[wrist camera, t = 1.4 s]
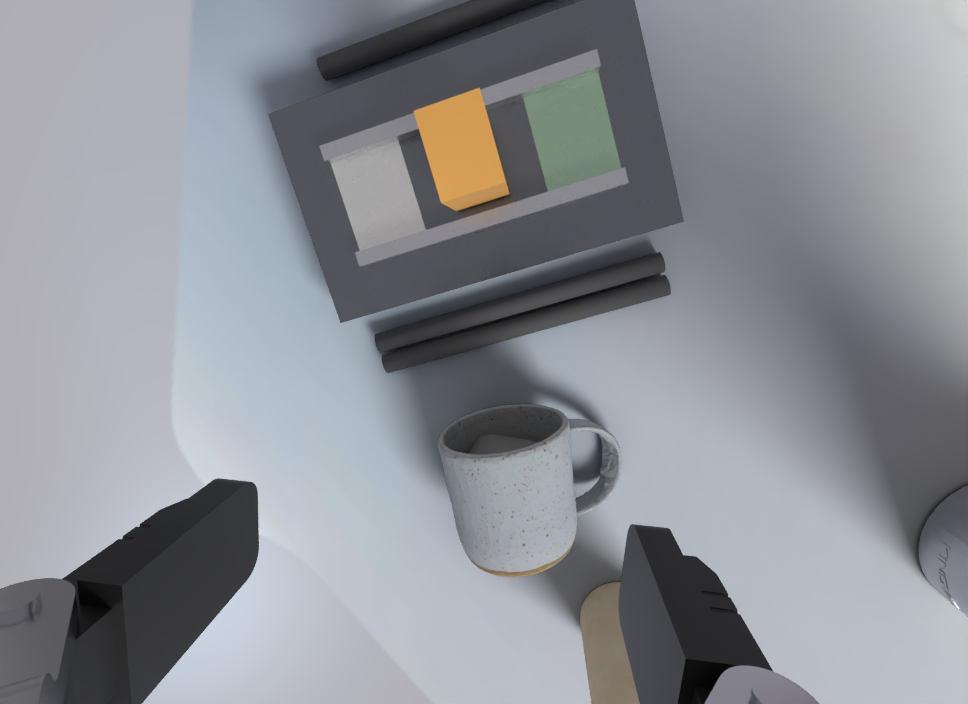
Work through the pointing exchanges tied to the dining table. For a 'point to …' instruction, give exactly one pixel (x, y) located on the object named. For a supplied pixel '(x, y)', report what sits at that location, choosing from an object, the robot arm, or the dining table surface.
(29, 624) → the robot arm
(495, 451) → the ceramic mug
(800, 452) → the dining table surface
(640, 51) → the panel
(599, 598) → the candle
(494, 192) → the lever
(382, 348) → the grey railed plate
